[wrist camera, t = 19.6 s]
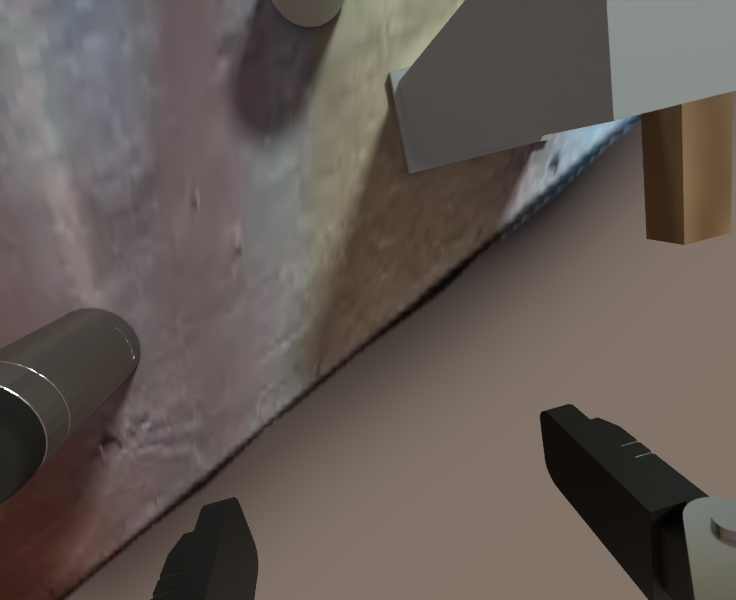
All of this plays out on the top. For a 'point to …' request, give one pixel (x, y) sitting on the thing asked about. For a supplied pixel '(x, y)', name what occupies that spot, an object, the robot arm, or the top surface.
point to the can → (308, 11)
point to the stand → (556, 71)
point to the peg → (688, 170)
